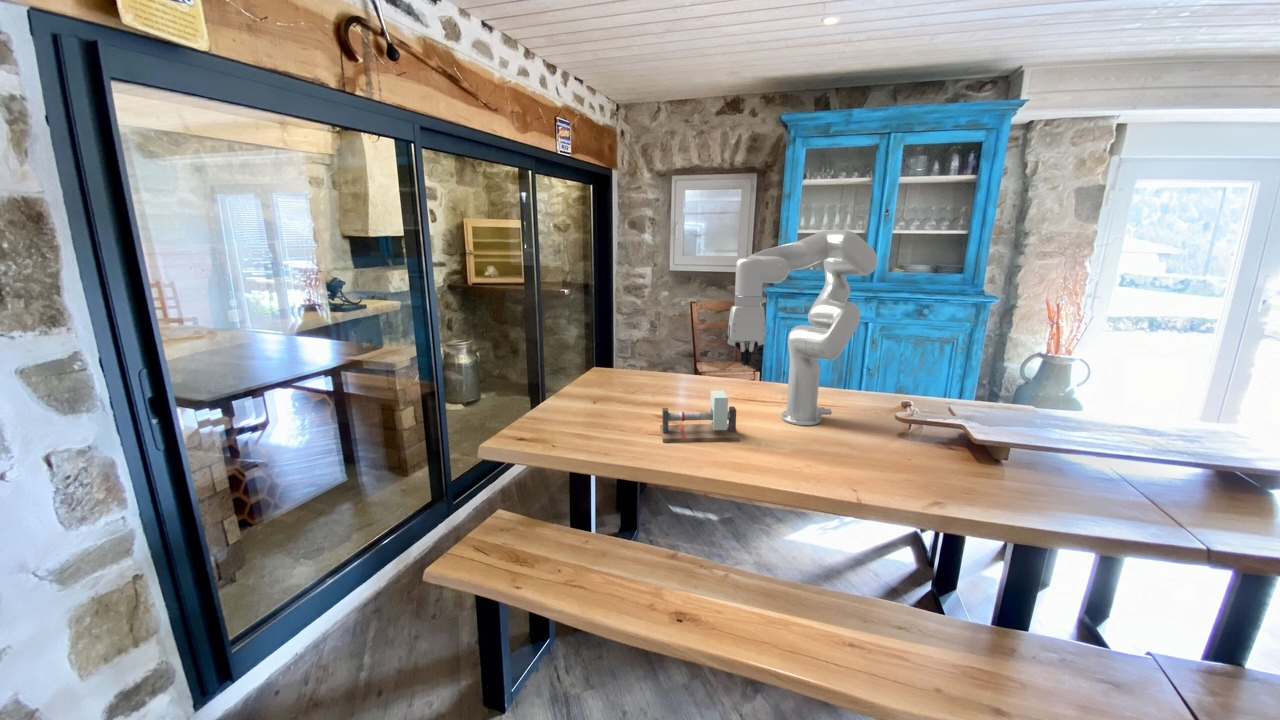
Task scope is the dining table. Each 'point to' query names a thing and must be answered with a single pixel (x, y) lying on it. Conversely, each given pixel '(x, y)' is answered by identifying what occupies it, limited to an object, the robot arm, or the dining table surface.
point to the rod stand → (697, 427)
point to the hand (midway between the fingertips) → (745, 364)
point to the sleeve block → (719, 410)
